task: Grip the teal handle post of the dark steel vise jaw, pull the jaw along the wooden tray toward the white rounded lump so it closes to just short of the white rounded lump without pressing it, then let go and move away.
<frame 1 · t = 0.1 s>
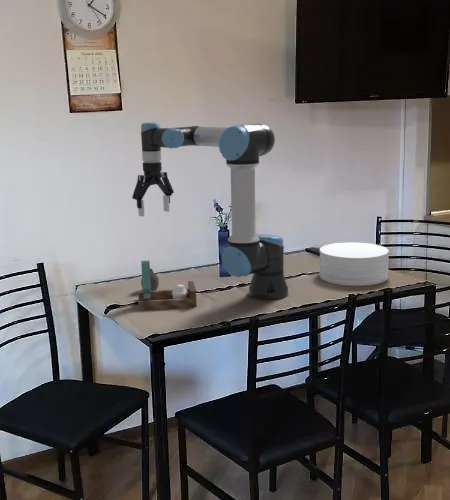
hand: (154, 213, 283), 28 cm above the table, tool pointing down, fingers open, 13 cm apart
vase: (150, 291, 274), on the table
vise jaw: (146, 282, 255), point 8 cm above the table, slide at 0.0 cm
plate stack: (353, 277, 288), on the table
wooden tray: (167, 302, 258), on the table
white rounded lump: (180, 302, 258), resting in wooden tray
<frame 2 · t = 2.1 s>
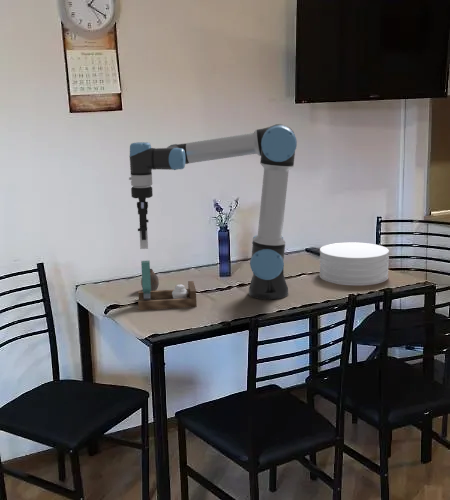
hand: (144, 244, 252), 23 cm above the table, tool pointing down, fingers open, 13 cm apart
nothing on the table moved.
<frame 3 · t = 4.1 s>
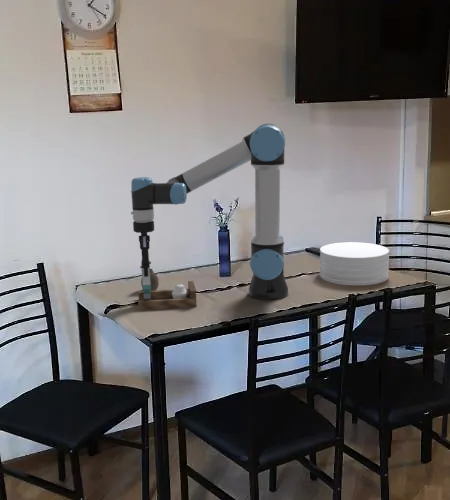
hand: (146, 283, 255), 8 cm above the table, tool pointing down, fingers closed on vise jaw, 3 cm apart
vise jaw: (146, 282, 255), point 8 cm above the table, slide at 0.0 cm, touching gripper
everything else where it was.
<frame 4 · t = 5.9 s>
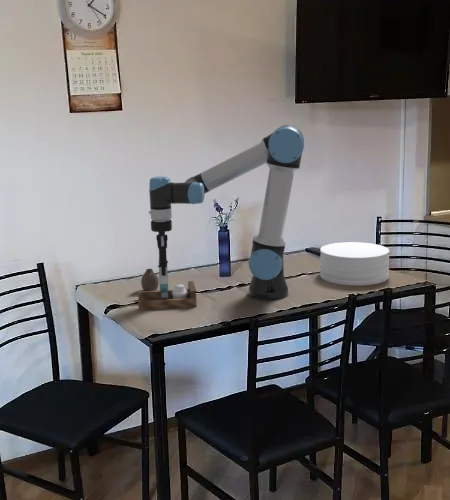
hand: (163, 282, 256), 8 cm above the table, tool pointing down, fingers closed on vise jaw, 3 cm apart
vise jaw: (163, 281, 256), point 8 cm above the table, slide at 6.3 cm, touching gripper
everything else where it was.
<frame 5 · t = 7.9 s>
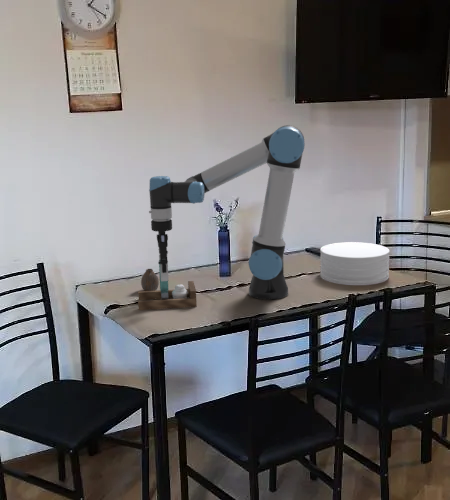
hand: (164, 276, 255), 10 cm above the table, tool pointing down, fingers open, 13 cm apart
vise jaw: (163, 281, 256), point 8 cm above the table, slide at 6.4 cm
everything else where it was.
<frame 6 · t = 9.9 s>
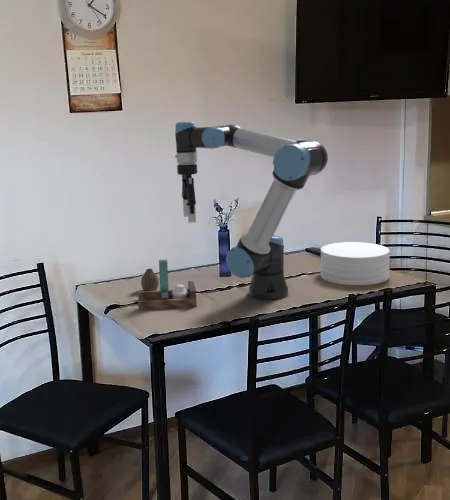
hand: (189, 219, 265), 29 cm above the table, tool pointing down, fingers open, 13 cm apart
nothing on the table moved.
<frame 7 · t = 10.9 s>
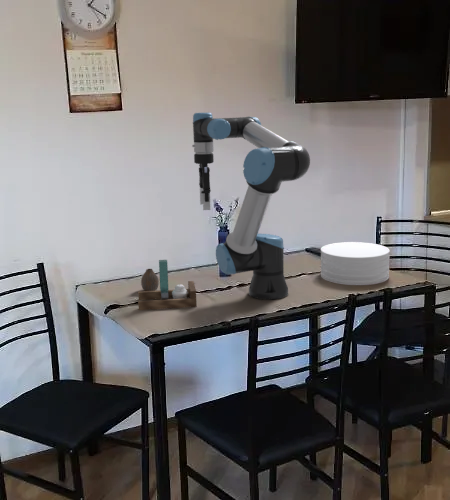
hand: (205, 207, 274), 32 cm above the table, tool pointing down, fingers open, 13 cm apart
nothing on the table moved.
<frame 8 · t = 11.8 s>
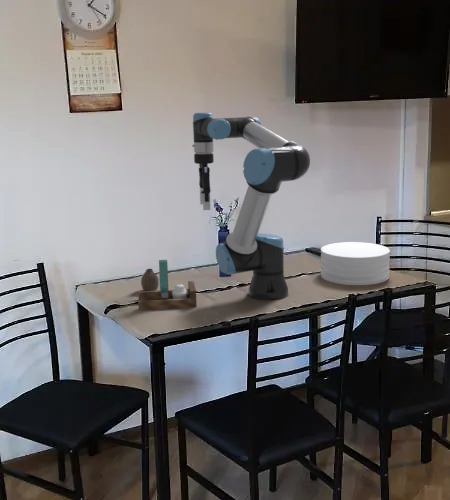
hand: (205, 207, 274), 32 cm above the table, tool pointing down, fingers open, 13 cm apart
nothing on the table moved.
at the end: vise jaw slide at 6.4 cm; white rounded lump touching table; white rounded lump moved 0.2 cm from its start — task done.
